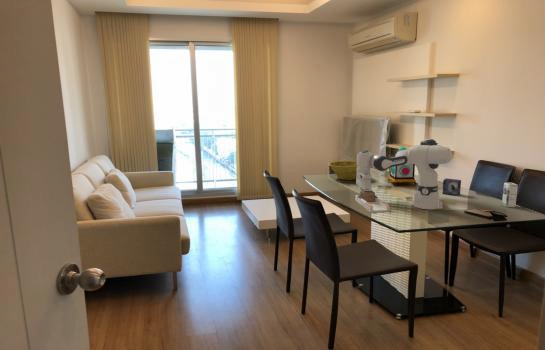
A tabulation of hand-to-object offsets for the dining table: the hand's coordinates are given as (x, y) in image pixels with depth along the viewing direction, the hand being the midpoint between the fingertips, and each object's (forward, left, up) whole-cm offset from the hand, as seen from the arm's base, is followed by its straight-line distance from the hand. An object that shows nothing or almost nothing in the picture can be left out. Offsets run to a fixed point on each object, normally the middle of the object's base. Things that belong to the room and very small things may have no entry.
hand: (362, 193), depth 270 cm
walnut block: (+7, +6, -2) cm, 10 cm away
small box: (-43, +49, -4) cm, 65 cm away
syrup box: (-27, +85, -4) cm, 90 cm away
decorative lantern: (-60, +9, -4) cm, 60 cm away
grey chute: (+13, +11, -4) cm, 18 cm away
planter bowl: (-59, -37, -4) cm, 69 cm away
